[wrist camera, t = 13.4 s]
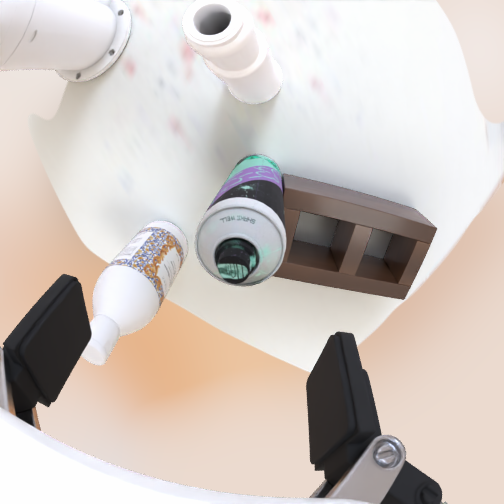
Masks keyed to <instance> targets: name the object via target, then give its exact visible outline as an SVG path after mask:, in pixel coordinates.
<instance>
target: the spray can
mask: <svg viewBox="0 0 504 504" xmlns="http://www.w3.org/2000/svg"><path fill="white" fill-rule="evenodd" d="M285 250H286V228H285V215H284V202H283V190H282V179H281V172H280V170H279V167H278V166H277V164H276V163H275V162H274V161H273V160H272V159H271V158H269V157H267V156H265V155H261V154H253V155H249V156H246V157H244V158H243V159H241V160H240V161H239V162H238V163H237V165H236V166H235V168H234V169H233V171H232V172H231V174H230V175H229V177H228V178H227V180H226V181H225V183H224V185H223V186H222V188H221V189H220V191H219V192H218V194H217V195H216V197H215V198H214V200H213V202H212V203H211V205H210V206H209V208H208V210H207V211H206V213H205V214H204V216H203V218H202V219H201V221H200V223H199V226H198V228H197V233H196V237H195V251H196V254H197V258H198V260H199V262H200V263H201V265H202V267H203V268H204V269H205V270H206V271H207V272H208V273H209V274H210V275H211V276H212V277H214V278H215V279H217V280H219V281H221V282H223V283H226V284H229V285H234V286H252V285H255V284H259V283H261V282H263V281H265V280H267V279H268V278H270V277H271V276H272V275H273V274H274V273H275V272H276V271H277V270H278V269H279V267H280V265H281V263H282V261H283V258H284V254H285Z"/></svg>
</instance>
